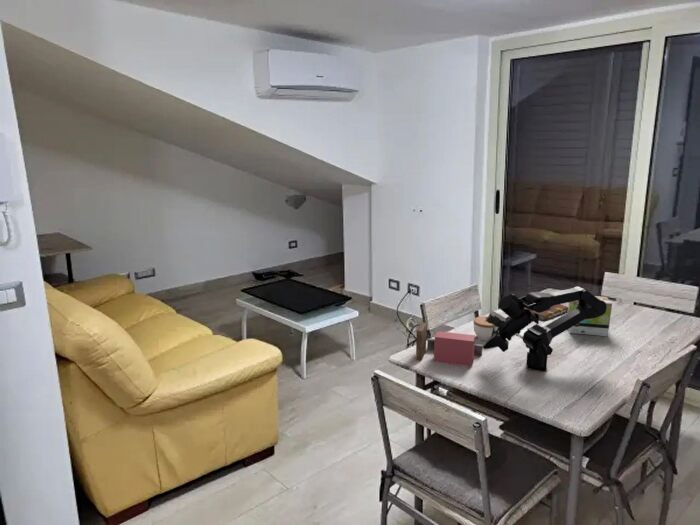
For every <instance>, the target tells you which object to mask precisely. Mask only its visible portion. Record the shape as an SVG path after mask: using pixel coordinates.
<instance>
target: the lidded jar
mask: <svg viewBox="0 0 700 525" xmlns="http://www.w3.org/2000/svg"><path fill="white" fill-rule="evenodd" d="M487 317H488V315H487V316H477V317H475V318H474V319H473V332H474V335H475V336H476V337H478V339H479V340H480V341H483V342H487V341H488V339H489V338H490V337H491V335H492V330H493V328H495V329H496V328H497V326H495V325H493V324H491V323H488V322H487Z"/></svg>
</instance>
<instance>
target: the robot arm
mask: <svg viewBox="0 0 700 525" xmlns="http://www.w3.org/2000/svg"><path fill="white" fill-rule="evenodd" d="M595 296H596V295H594V294H592V293H591V292H590V291H589V290H588V289H586V288H583V287H581V286H574V287H572V288H567V289H561V290H557V291H552V292H539V291H533V292H532V291H530V292H528V293H527V294H526V295H524V296H521V297H519V298H518V297H517V296H516V295H515V294H513V293H512V292H511V293H509V295H506V296H504V297H503V298H501V299H500V300H499V302H498V308H499V309H500V310H501V311H502V312H503V313H504V314H506V315H507V316H506V317H505V316H503V315H501V314H500V313H497V311H493V310H491V311H490V313H489V314H488V315H487V322H488V323H491V324H493V325H495V326H497V328H496V329H495V328H493V330H492V335H491V337H490V338H489V339H488V341H485V343H484V344H483V345H482V349H483V350H488V349H492V348H499V349H500V350H501V352H502V353H505V352H506V351H508V349H509V344H510V343H509V342H510V341H511V340H512V337H515V334H519V333H521V330H522V329H524V328H525V327H526V328H528V326H529V325H530V324H532V323H535V324H534V325H532V326H531V327H529V328H528V329H527V331H526V332H525V333H524V335H523V338H522V342H523V343H524V345H525V348H526V349H528V351H527V353H526V363H525V364H526V366H527V369H528V370H534V371H543V372H547V370H548V366H547V364H548V356H551V355H552V353H553V350H554V349H553V347H552V346H550V344H551V342H552V340H553V339H554V338H555V337H557V336H559V335H561V334H562V333H563V332H566V331H567V330H568V329H569V328H571V327H573V326H574V325H576V324H578V323H579V322H581V321H583V320H585V319H592V318H597V317H599V316H602V315H603V314H605V312H606V309H607V305H606V303H605V302H604V301H602V300H600V299H598V298H596V297H595ZM573 301H579V303H578V306H577V308H576V309H574V310H572V311H570V312H569V313H568V312H566V313H565V314H564V315H563V314H562V316H560V317H558V318H556V319H555V320H553V321H552V322H550V323H548V324H545V325H544V326H541V325H539V323H540V322H539V321H540V320H539V315H538V314H534V313H532V312H531V311H535V312H538V313H541V312H544V311H546V310H549V309H550V308H551V307H552V306H554V305H558V304H561V305H564V304H569V302H573ZM524 308H527V309H524ZM530 310H531V311H530Z"/></svg>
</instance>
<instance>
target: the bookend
mask: <svg viewBox="0 0 700 525" xmlns="http://www.w3.org/2000/svg"><path fill="white" fill-rule="evenodd" d="M427 326H428V323H427V322H420V323H419V326H418V327H417V329H416V345H415V349H416V350H415V361H418V362H422V360H423V358H424V356H425V354H426V352H427V350H430V351H431V350H432V351H434V342H435V338H429V337H428V338H427ZM474 356H479V357H480V356H482V357H483V344H479V343H475V348H474Z"/></svg>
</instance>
